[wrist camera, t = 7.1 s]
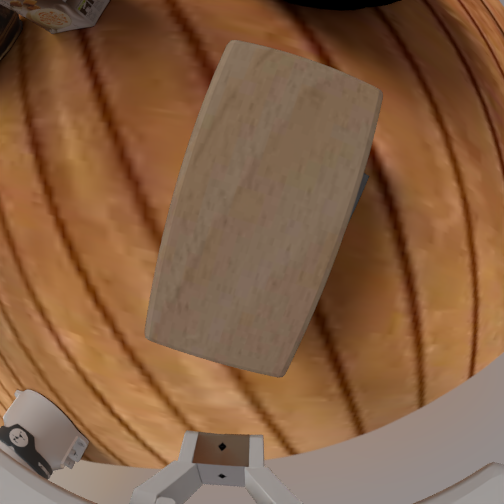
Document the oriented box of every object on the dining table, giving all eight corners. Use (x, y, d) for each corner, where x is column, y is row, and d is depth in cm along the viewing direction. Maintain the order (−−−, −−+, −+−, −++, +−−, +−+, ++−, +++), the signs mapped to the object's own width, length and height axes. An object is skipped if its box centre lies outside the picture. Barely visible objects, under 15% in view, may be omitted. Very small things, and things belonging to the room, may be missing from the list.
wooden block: (274, 317, 27) (340, 123, 22) (284, 381, 17) (387, 90, 13) (178, 289, 26) (237, 89, 22) (141, 340, 16) (228, 35, 12)
